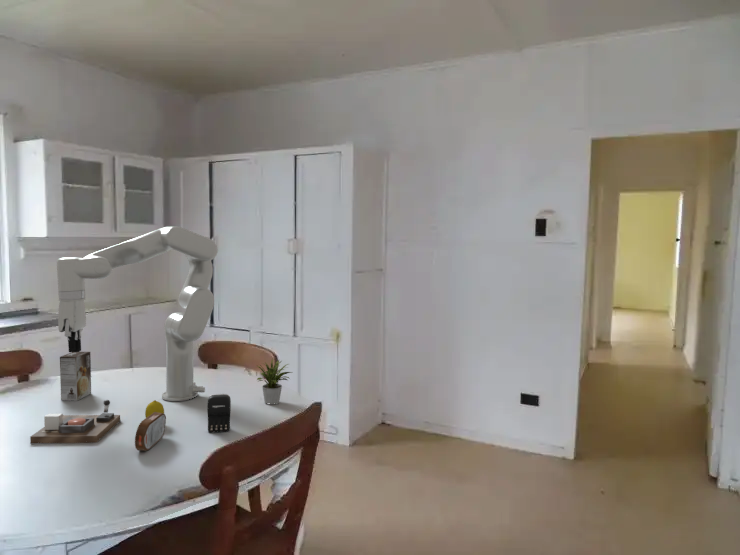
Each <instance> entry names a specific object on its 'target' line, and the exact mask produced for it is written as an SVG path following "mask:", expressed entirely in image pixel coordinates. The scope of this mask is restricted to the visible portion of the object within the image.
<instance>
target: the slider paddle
mask: <svg viewBox="0 0 740 555" xmlns="http://www.w3.org/2000/svg"><path fill="white" fill-rule="evenodd" d="M63 414H64V413H47V414H46V415H44V420H43V422H44V427H45V430H59V426H60V425H61V424H63Z"/></svg>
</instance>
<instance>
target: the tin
mask: <svg viewBox="0 0 740 555" xmlns="http://www.w3.org/2000/svg"><path fill="white" fill-rule="evenodd" d="M166 421H167V416H166V414H165V412H164V413H157V412H154V413H153V414H151V415H150V416H148V417H147V418H146V417H145V418H144V419H143V420H141V422H140V423H139V424H138V426H137V429H136V432H135V436H134V446H135V449H136V450H137V451H143V452H146V451H147V452H148V451H149V450H151V448H153V447H155V445H157V444H158V443H159V442H160V441H161V439H163V436H164V435H165V431H166Z"/></svg>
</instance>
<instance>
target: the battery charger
mask: <svg viewBox="0 0 740 555" xmlns="http://www.w3.org/2000/svg"><path fill="white" fill-rule="evenodd" d="M206 404H207V406H206V408H207V411H206V412H207V432H208V433H212V432H214V433H226V431H227V432H229V431H230V430H231V412H232V410H231V408H232V400H231V396H230V395H229V394H228V393H216V394H215V393H213V394H211V395H209V396H208V398H207V403H206Z"/></svg>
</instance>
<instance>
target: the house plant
mask: <svg viewBox="0 0 740 555" xmlns="http://www.w3.org/2000/svg"><path fill="white" fill-rule="evenodd" d="M273 362H274V359H273V358H272V359H271V363H270V366H269V365H268V364H267V363H266V362H264V363H263V365H265V367H266V370H265V368H264V367H263V366H262V365H261V364H259V365H256V368H257V367H258V368H259V370H261V373H260V375H262V376H263V377H264V378H265V379H263V378H262V377H258V378H256V381H258V382H261V381H262V382H265V384H263V385H262V386H261V387H262V393H263V400H264V404H265V403H270V404H274V403H278V402H279V403H280V401H281V400H280V399H281V393H282V388H283V386H282V384H280V383H279V382H280V381H282V380H283V381H284V380H285V381H288V379H290V377H289V376H284V375H287V374H290V373H291V374H292V373H293V371H285V369H286V368H289V367H286V366H287V365H289V363H287V364H284V365H283V366H282V367H281V368H280V369H278V367H279V365H280V364H281V363H282V361H280V359H279V360H277V361H276V362H275V364H274V363H273ZM283 371H284V372H283ZM290 380H291V379H290ZM279 403H278V404H279Z"/></svg>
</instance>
